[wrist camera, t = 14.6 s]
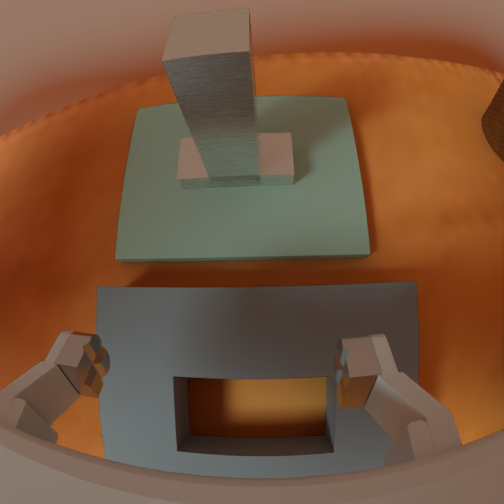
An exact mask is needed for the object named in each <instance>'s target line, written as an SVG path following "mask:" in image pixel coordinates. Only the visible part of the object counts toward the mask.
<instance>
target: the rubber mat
mask: <svg viewBox="0 0 504 504" xmlns="http://www.w3.org/2000/svg"><path fill="white" fill-rule="evenodd" d="M256 99H257V113H258V127H259V133H291V138H292V150H293V163H294V180H293V185H276V186H241V187H218V188H200V189H182V187H181V186H180V184H179V183H178V181H177V170H178V160H179V150H180V142H181V138H191V137H192V135H191V133H190V130H189V128H188V125H187V123H186V120H185V118H184V116H183V113H182V111H181V108H180V106H179V103H172V104H165V105H158V106H152V107H146V108H140V109H138V110H137V115H136V119H135V124H134V128H133V133H132V138H131V143H130V148H129V154H128V159H127V165H126V171H125V177H124V184H123V190H122V197H121V205H120V213H119V221H118V231H117V241H116V252H115V260H117V261H120V262H179V261H235V260H282V259H324V258H362V257H367V256H368V255H370V244H369V234H368V225H367V216H366V208H365V200H364V193H363V186H362V180H361V173H360V167H359V161H358V155H357V150H356V144H355V139H354V134H353V129H352V124H351V119H350V114H349V110H348V105H347V101H346V98H345V97H326V96H256Z"/></svg>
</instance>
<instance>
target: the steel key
mask: <svg viewBox="0 0 504 504" xmlns="http://www.w3.org/2000/svg"><path fill="white" fill-rule="evenodd" d="M251 36H252V35H251V24H250V13H249V8H243V9H242V8H241V9H228V10H217V11H208V12H200V13H194V14H187V15H180V16H175V17H174V19H173V22H172V26H171V29H170V33H169V36H168V39H167V43H166V46H165V50H164V53H163V57H162V64H163V66H164V69H165V71H166V74H167V76H168V79H169V81H170V84H171V86H172V88H173V91H174V93H175V96H176V98H177V101H178V103H179V106H180V108H181V111H182V113H183V116H184V118H185V120H186V123H187V125H188V128H189V130H190V133H191V135H192V137H191V138H181V142H180V150H179V160H178V170H177V181H178V183H179V184H180V186H181V187H182V189H200V188H218V187H241V186H276V185H293V180H294V163H293V150H292V138H291V133H259V127H258V113H257V99H256V86H255V73H254V60H253V48H252V37H251Z"/></svg>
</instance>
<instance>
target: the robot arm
mask: <svg viewBox="0 0 504 504" xmlns="http://www.w3.org/2000/svg"><path fill="white" fill-rule="evenodd" d="M101 344H102V340H101V339H100V337H99V335H95V334H88V333H81V332H73V331H66V330H64V331H62V332H60V334H59V336H58V338H57V339H56V341H55V343H54V345H53V346H52V348H51V350H50V352H49V353H48V355H47V357H46V359H45V361H44V362H43V361H41V362H39V363H38V364H37V365H35V366H34V367H32V368H31V369H30V370H28V371H27V372H25V373H24V374H23V375H21V376H20V377H18V378H17V379H16V380H14V381H13V382H12V383H10V384H9V385H7V386H6V387H5V388H3V389H2V390H1V391H0V504H504V429H502V430H500V431H498V432H495V433H493V434H491V435H488V436H486V437H483V438H481V439H478V440H475V441H473V442H470V443H467V444H464V445H462V443H461V440H460V437H459V434H458V431H457V427H456V424H455V421H454V418H453V416H452V413H451V411H450V410H448V409H447V408H446V407H445V406H444V405H442V404H441V403H440V402H439V401H437V400H436V399H435V398H434V397H433V396H431V395H430V394H429V393H428V392H426V391H425V390H424V389H423V388H422V387H420V386H419V385H418V384H417V383H415V382H414V381H413V380H412V379H411V378H409V377H408V376H407V375H406V374H404V373H403V372H398V369H397V366H396V364H395V361H394V358H393V355H392V352H391V349H390V346H389V344H388V341H387V338H386V336H385V335H384V334H376V335H363V336H352V337H340V338H339V339H338V342H337V349H338V352H337V353H336V354H335V356H334V365H333V370H334V379H335V382H337V383H338V384H339V385H338V389H337V397H338V403H339V409H340V408H352V407H363V406H364V408H365V409H366V410H367V412H368V413H369V414H370V415H371V416H372V417H373V418H374V420H375V421H376V422H377V423H378V424H379V425H380V426H381V427H382V429H383V430H384V431H385V432H386V433H387V434H388V435H389V436H390V438H391V439H392V440H393V441H394V442H395V443H394V444H393V445H392V446H391V448H390V449H389V450H388V451H387V452H386V454H385V455H384V456H383V458H384V464H385V466H383V467H378V468H372V469H367V470H361V471H354V472H347V473H339V474H331V475H321V476H309V477H292V478H231V477H214V476H202V475H192V474H184V473H176V472H169V471H162V470H156V469H150V468H144V467H139V466H134V465H129V464H125V463H120V462H116V461H112V460H108V459H104V458H100V457H96V456H93V455H89V454H86V453H82V452H79V451H76V450H72V449H69V448H66V447H63V446H60V445H57V444H56V442H57V439H58V434H57V432H56V431H55V430H54V429H52V428H51V427H50V425H51V424H52V423H53V422H54V421H55V420H56V419H57V418H58V417H59V416H60V415H61V414H62V413H63V412H64V411H65V410H66V409H67V408H68V407H69V406H70V405H71V404H72V403H73V402H74V401H75V400H76V399H77V398H78V397H79V396H80V395H83V396H89V397H95V398H98V397H99V395H100V392H101V389H102V387H103V384H104V383H103V380H102V378H103V377H104V376H106V375H107V374H108V371H109V368H110V357H109V354H108V352H107V350H106V349H105V348H104V347H102V346H101Z"/></svg>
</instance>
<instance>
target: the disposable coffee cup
mask: <svg viewBox="0 0 504 504" xmlns="http://www.w3.org/2000/svg"><path fill="white" fill-rule="evenodd" d="M482 128H483V131H484V134H485V136H486V138H487V140H488V142H489V144H490V145H491V147H492V148H493V150H494V151H495V152H496V153H497V155H498V156H499V157H500V158H501V159H502V160H504V80H503V82H502V83H501V85H500V88H499V89H498V91H497V92H496V94H495V96H494V98H493V100H492V101H491V103H490V105H489V107H488V108H487V110H486V112H485V113H484V115H483V117H482Z"/></svg>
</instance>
